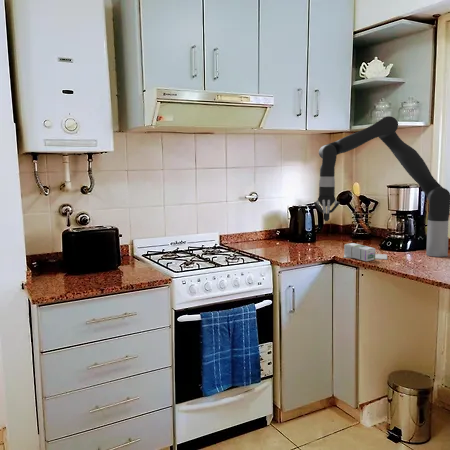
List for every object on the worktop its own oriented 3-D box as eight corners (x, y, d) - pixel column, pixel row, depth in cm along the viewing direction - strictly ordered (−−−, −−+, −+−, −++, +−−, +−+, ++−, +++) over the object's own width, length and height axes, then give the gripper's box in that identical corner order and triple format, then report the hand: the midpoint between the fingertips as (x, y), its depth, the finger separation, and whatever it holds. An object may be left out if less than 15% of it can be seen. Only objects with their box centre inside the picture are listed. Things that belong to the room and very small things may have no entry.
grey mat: (386, 255, 232) (386, 254, 232) (387, 259, 221) (387, 258, 221) (345, 253, 238) (345, 252, 238) (343, 257, 227) (343, 256, 227)
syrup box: (343, 255, 229) (366, 262, 217) (344, 243, 228) (367, 250, 215) (352, 253, 232) (375, 260, 220) (352, 241, 231) (375, 248, 218)
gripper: (341, 185, 233) (340, 220, 235) (314, 185, 237) (313, 219, 239) (340, 186, 226) (339, 222, 228) (312, 186, 230) (311, 221, 232)
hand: (326, 220), depth 234 cm, fingers closed
